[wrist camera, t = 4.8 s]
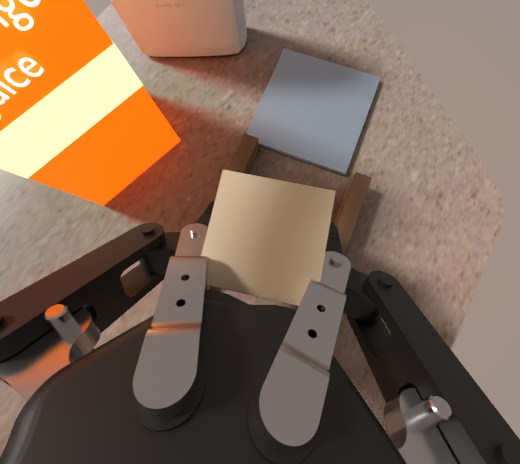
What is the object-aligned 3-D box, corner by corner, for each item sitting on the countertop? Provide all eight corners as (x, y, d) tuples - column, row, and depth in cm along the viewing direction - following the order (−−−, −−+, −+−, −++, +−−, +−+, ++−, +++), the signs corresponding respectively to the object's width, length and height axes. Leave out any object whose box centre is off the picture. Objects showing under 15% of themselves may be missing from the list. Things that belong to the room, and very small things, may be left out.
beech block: (232, 274, 17) (194, 282, 8) (245, 218, 18) (222, 169, 9) (290, 287, 17) (315, 309, 8) (300, 229, 17) (335, 190, 8)
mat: (244, 140, 19) (243, 138, 19) (283, 52, 20) (283, 48, 20) (344, 175, 18) (345, 173, 18) (378, 80, 20) (381, 77, 19)
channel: (161, 336, 17) (150, 343, 15) (246, 144, 19) (244, 133, 18) (289, 395, 16) (291, 409, 14) (362, 185, 18) (371, 177, 17)
